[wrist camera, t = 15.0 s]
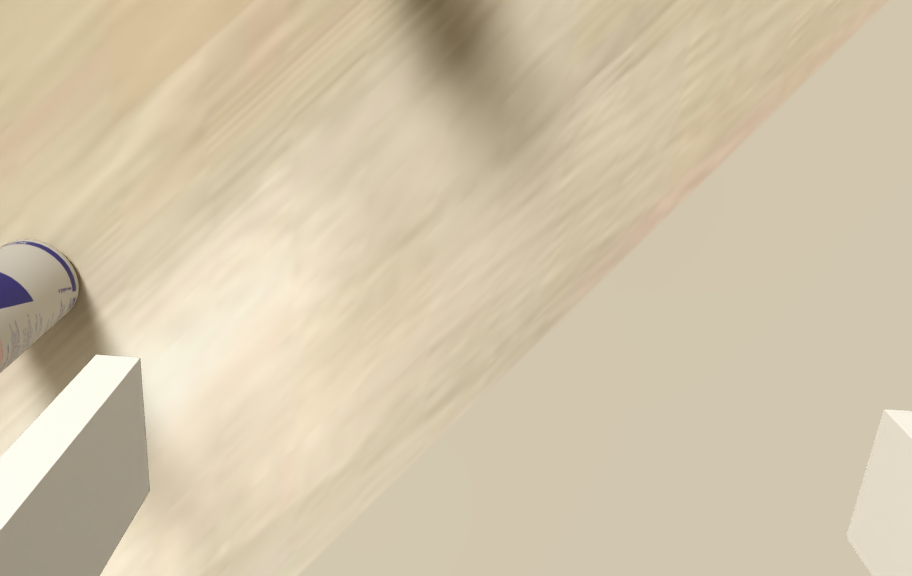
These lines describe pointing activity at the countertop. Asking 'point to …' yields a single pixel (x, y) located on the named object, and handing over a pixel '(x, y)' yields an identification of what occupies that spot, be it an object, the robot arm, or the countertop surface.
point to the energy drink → (32, 294)
